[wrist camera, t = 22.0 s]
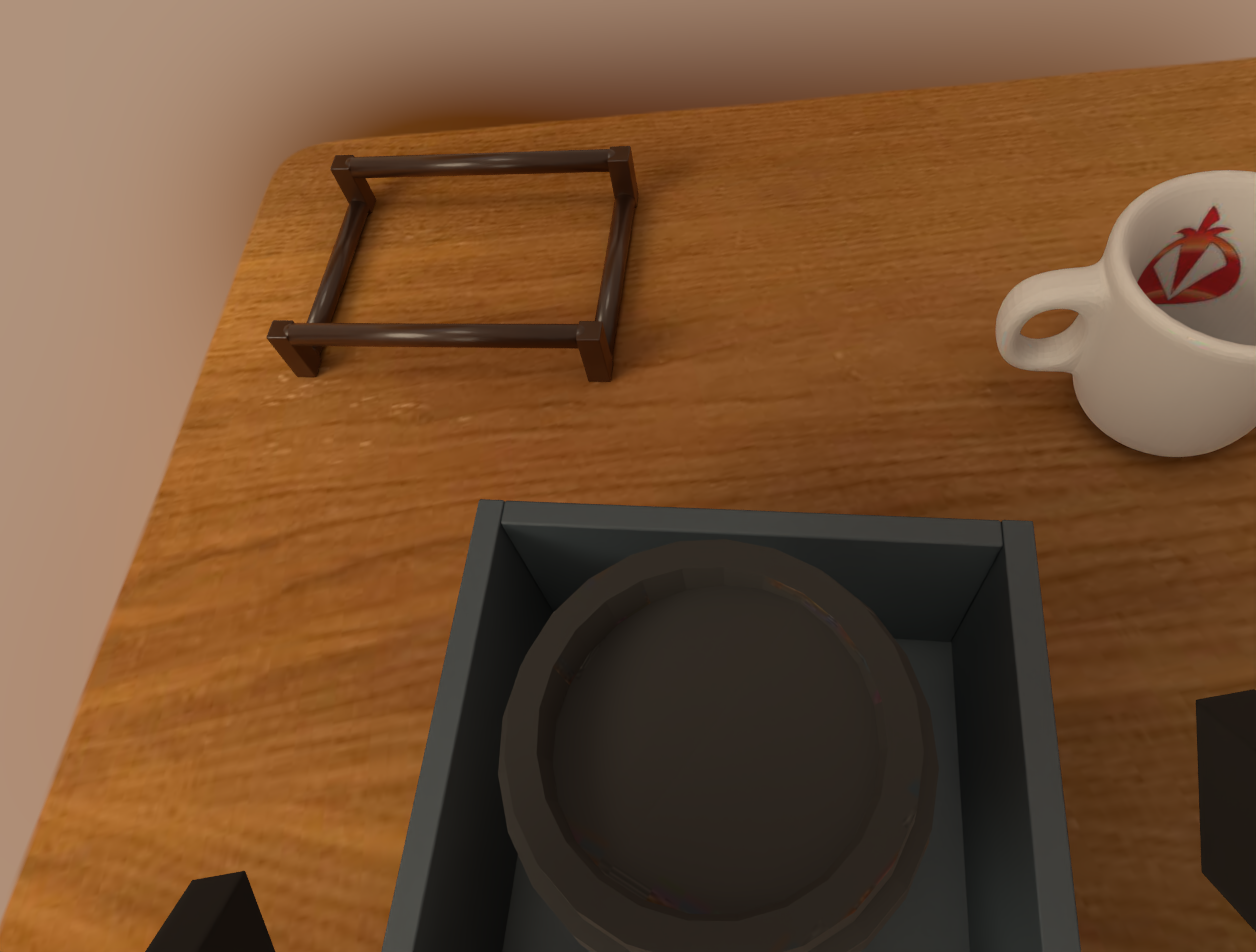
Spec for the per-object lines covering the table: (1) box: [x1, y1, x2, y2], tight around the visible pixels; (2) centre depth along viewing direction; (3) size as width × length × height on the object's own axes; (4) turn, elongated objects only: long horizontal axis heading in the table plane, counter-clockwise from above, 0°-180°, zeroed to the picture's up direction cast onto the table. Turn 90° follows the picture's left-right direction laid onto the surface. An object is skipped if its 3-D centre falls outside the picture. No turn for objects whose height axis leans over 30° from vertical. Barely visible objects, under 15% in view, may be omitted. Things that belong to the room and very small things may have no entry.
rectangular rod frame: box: [267, 146, 638, 382], centre depth 42 cm, size 15×11×3 cm
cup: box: [996, 170, 1256, 457], centre depth 32 cm, size 11×8×8 cm
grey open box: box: [382, 499, 1081, 952], centre depth 26 cm, size 16×16×9 cm
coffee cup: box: [498, 539, 939, 952], centre depth 22 cm, size 8×8×15 cm
